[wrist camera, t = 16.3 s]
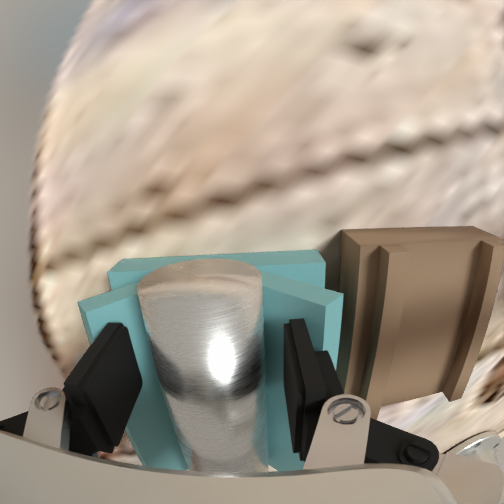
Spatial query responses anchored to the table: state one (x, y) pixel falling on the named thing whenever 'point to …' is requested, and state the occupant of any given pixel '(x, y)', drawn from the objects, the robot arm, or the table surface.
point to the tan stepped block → (414, 310)
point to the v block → (274, 315)
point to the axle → (210, 360)
